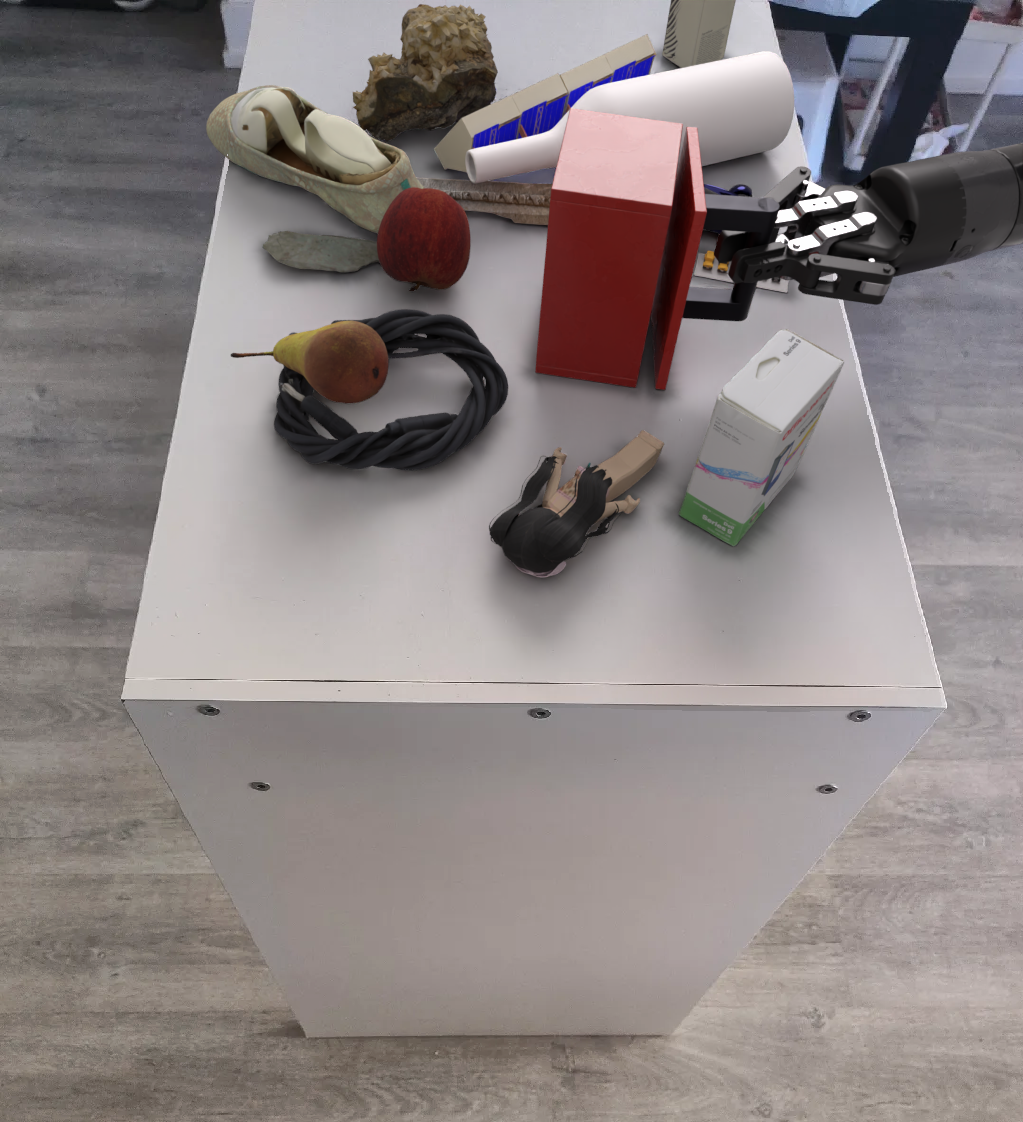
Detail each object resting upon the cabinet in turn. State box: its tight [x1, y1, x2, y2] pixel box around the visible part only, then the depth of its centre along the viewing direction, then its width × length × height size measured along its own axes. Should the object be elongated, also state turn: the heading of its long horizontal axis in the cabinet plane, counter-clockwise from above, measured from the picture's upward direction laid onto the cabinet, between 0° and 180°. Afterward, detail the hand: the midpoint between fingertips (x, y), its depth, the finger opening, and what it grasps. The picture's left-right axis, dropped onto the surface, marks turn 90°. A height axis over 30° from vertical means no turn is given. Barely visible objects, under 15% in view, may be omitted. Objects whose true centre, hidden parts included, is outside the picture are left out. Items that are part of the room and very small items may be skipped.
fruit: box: [230, 321, 389, 405], centre depth 72 cm, size 6×6×12 cm
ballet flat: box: [205, 84, 424, 234], centre depth 87 cm, size 8×25×8 cm, turn 55°
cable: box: [273, 308, 509, 472], centre depth 75 cm, size 17×14×4 cm
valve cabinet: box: [534, 108, 683, 388], centre depth 76 cm, size 8×10×16 cm
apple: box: [376, 187, 472, 293], centre depth 81 cm, size 7×8×8 cm
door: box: [650, 127, 780, 391], centre depth 76 cm, size 6×10×15 cm, turn 178°
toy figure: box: [488, 429, 665, 578], centre depth 70 cm, size 7×6×15 cm
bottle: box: [465, 50, 795, 184], centre depth 90 cm, size 8×8×30 cm
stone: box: [262, 230, 380, 273], centre depth 85 cm, size 11×2×5 cm
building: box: [433, 33, 658, 173], centre depth 94 cm, size 23×6×4 cm
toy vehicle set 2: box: [693, 250, 790, 294], centre depth 87 cm, size 3×8×1 cm, turn 77°
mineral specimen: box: [352, 3, 499, 142], centre depth 93 cm, size 14×13×10 cm
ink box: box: [678, 328, 845, 547], centre depth 69 cm, size 9×5×12 cm, turn 143°
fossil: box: [416, 177, 552, 226], centre depth 90 cm, size 18×3×4 cm
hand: (726, 257), depth 71 cm, fingers closed on door
